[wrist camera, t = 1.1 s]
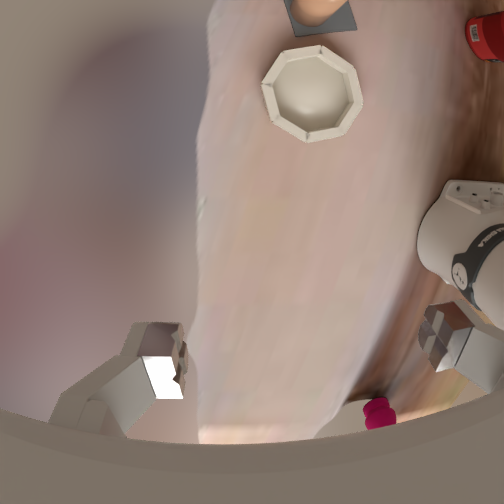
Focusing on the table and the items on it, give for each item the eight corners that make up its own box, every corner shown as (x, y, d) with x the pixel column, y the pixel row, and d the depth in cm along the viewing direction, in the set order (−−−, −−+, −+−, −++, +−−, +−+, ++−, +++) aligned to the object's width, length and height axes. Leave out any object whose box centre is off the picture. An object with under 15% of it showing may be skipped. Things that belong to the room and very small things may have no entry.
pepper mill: (370, 395, 61) (396, 469, 43) (394, 395, 62) (423, 464, 44) (355, 414, 64) (376, 485, 45) (379, 414, 65) (403, 480, 46)
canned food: (483, 70, 33) (530, 71, 23) (456, 29, 30) (501, 21, 20) (501, 50, 30) (545, 49, 20) (476, 11, 28) (519, 2, 18)
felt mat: (342, -14, 29) (342, -14, 28) (356, 30, 32) (357, 29, 31) (281, -8, 29) (281, -9, 29) (295, 37, 32) (296, 36, 32)
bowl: (341, 45, 33) (348, 41, 30) (361, 129, 38) (369, 131, 35) (252, 60, 34) (253, 57, 31) (276, 147, 39) (278, 149, 36)
